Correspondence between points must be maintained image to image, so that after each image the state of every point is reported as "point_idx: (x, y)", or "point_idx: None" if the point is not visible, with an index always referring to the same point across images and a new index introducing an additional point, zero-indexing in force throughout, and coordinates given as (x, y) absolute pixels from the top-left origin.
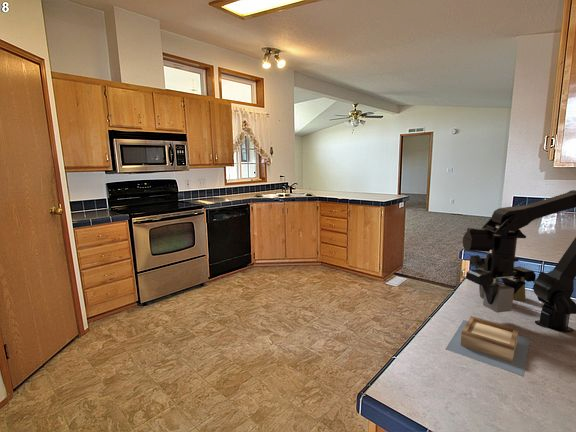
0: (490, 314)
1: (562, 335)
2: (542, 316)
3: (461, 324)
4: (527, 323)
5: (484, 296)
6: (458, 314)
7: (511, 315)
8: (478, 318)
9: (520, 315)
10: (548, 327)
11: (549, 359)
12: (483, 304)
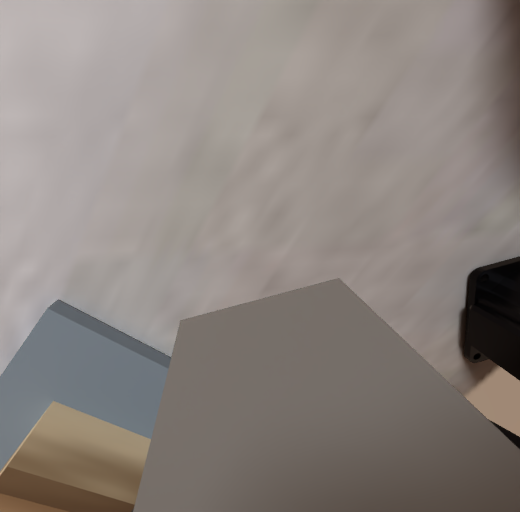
0: (306, 172)
1: (473, 365)
2: (516, 345)
3: (13, 365)
4: (430, 277)
5: (163, 409)
6: (61, 178)
7: (428, 183)
8: (41, 509)
9: (479, 182)
10: (471, 344)
11: None
12: (181, 329)
